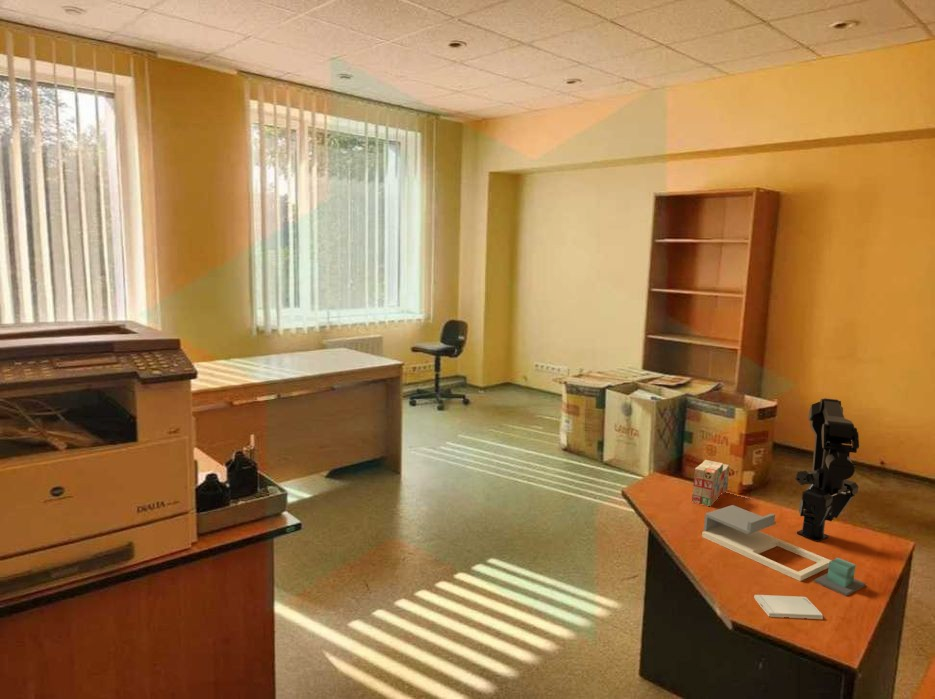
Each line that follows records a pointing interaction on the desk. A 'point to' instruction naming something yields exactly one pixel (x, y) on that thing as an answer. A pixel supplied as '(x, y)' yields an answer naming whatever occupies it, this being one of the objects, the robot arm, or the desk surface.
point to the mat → (842, 590)
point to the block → (841, 572)
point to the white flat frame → (764, 549)
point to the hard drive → (788, 606)
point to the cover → (738, 519)
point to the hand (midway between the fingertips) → (826, 521)
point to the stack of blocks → (709, 482)
